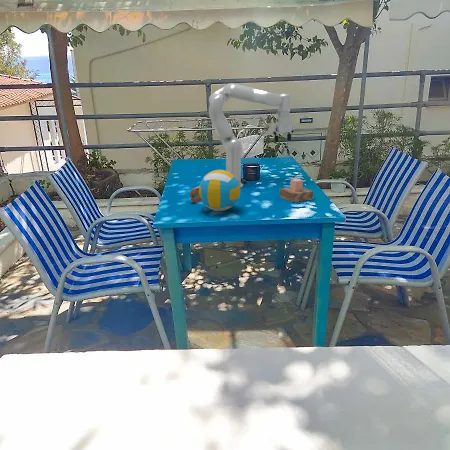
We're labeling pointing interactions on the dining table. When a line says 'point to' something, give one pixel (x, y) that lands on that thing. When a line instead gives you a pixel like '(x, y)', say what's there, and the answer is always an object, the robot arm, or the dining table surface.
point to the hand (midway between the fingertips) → (282, 141)
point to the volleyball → (219, 190)
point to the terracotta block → (296, 185)
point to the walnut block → (296, 194)
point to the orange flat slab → (195, 195)
